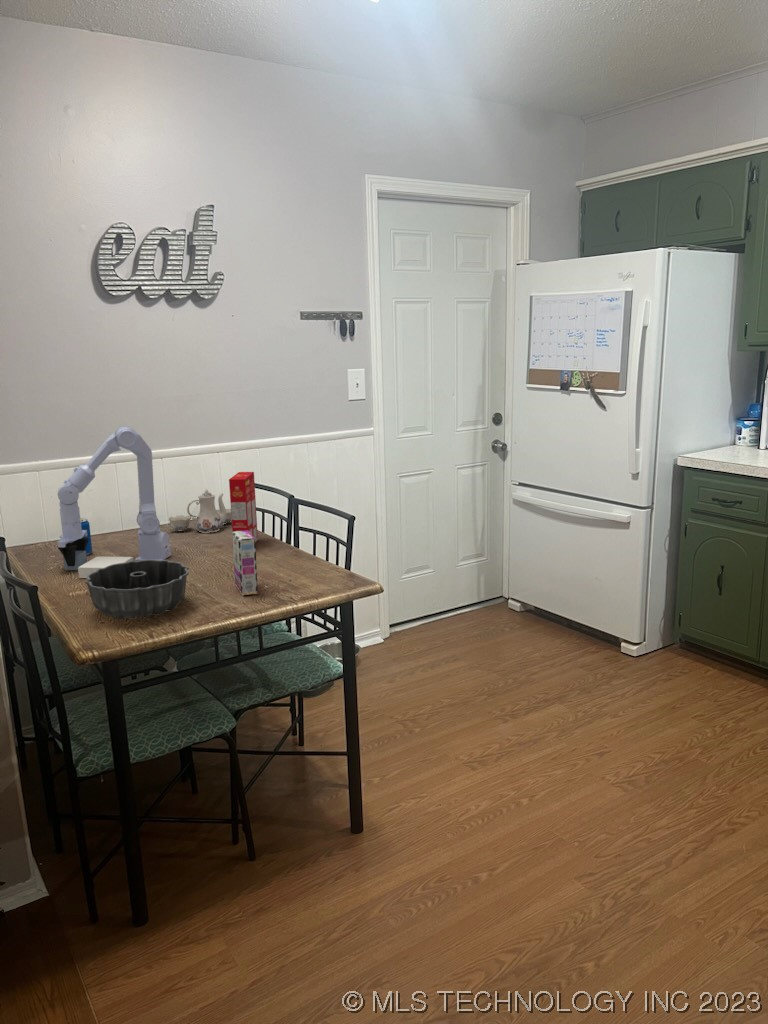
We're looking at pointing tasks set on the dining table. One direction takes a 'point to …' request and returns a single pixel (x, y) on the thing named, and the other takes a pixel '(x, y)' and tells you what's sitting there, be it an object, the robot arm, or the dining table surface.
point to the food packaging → (243, 503)
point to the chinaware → (204, 515)
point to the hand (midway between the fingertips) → (75, 563)
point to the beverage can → (86, 526)
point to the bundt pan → (138, 588)
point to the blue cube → (77, 560)
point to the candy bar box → (245, 561)
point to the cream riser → (100, 564)
